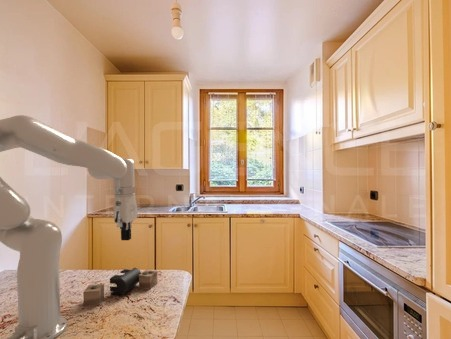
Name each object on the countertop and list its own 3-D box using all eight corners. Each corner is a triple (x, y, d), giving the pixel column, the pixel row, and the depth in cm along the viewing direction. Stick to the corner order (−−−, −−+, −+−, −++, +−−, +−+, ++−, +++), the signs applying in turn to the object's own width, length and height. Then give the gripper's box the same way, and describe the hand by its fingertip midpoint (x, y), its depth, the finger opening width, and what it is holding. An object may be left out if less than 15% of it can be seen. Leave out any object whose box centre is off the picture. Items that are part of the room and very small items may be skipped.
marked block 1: (99, 305, 86) (99, 289, 86) (83, 306, 85) (83, 291, 85) (104, 297, 91) (103, 283, 91) (89, 299, 90) (88, 284, 90)
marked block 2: (150, 289, 96) (150, 275, 96) (139, 288, 98) (138, 274, 98) (157, 283, 101) (157, 270, 101) (146, 282, 102) (146, 269, 102)
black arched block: (126, 297, 90) (125, 278, 90) (109, 295, 92) (108, 277, 92) (142, 285, 100) (141, 267, 100) (126, 283, 102) (126, 266, 102)
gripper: (124, 193, 88) (126, 246, 89) (142, 189, 103) (144, 234, 103) (103, 193, 89) (105, 246, 89) (124, 189, 104) (126, 234, 104)
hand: (126, 239), depth 96 cm, fingers closed
